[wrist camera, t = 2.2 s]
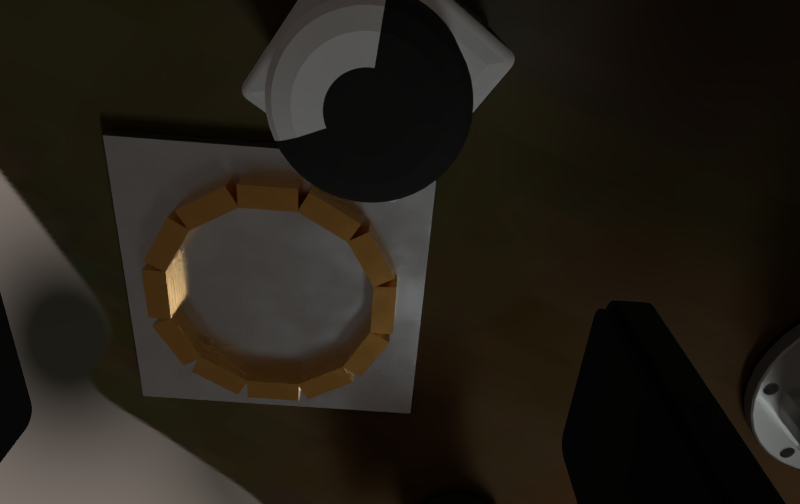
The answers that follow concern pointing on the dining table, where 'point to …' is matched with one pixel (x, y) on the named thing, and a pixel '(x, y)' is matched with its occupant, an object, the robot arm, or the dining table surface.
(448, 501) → the character mug
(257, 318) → the white square ringed board
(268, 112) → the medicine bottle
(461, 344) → the dining table surface
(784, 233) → the dining table surface
